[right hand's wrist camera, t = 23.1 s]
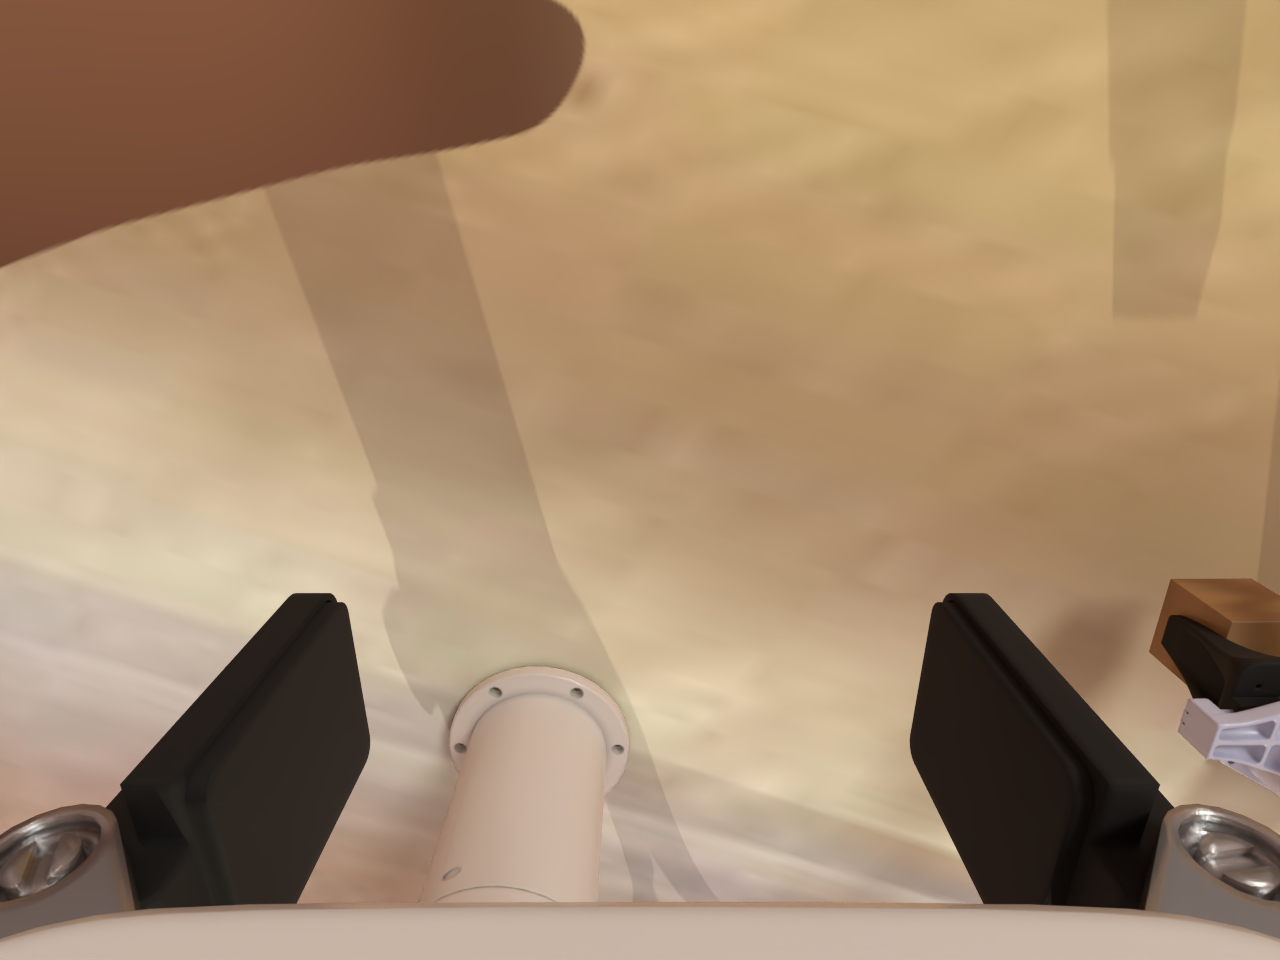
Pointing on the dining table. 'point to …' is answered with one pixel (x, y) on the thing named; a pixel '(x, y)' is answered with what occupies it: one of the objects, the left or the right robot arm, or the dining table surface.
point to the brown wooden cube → (1223, 614)
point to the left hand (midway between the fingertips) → (1217, 629)
